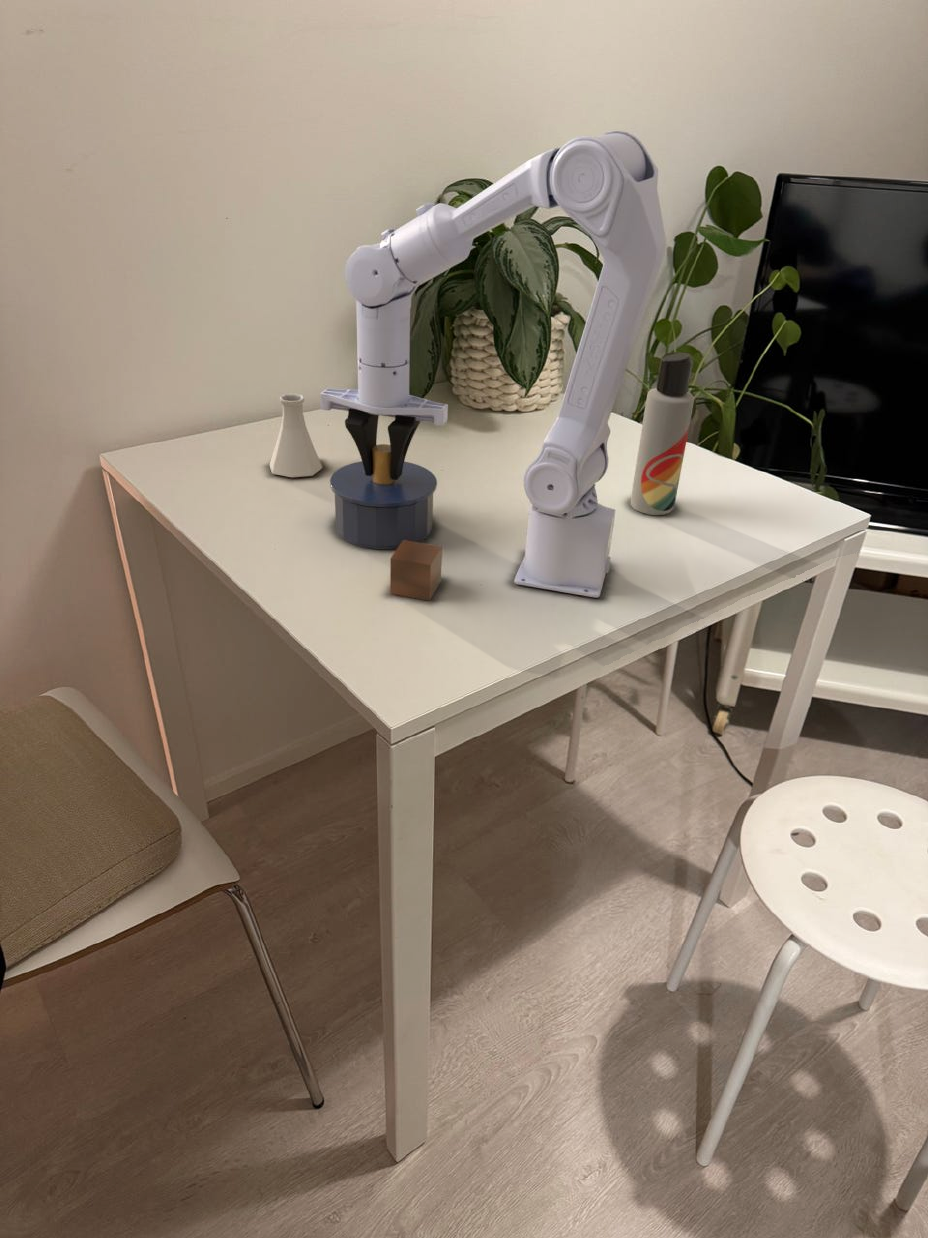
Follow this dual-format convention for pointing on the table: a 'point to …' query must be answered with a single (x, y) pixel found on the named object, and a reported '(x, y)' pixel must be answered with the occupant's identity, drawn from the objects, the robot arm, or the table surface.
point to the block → (415, 570)
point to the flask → (294, 442)
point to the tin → (383, 523)
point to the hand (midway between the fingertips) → (383, 474)
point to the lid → (383, 482)
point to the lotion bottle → (663, 437)
